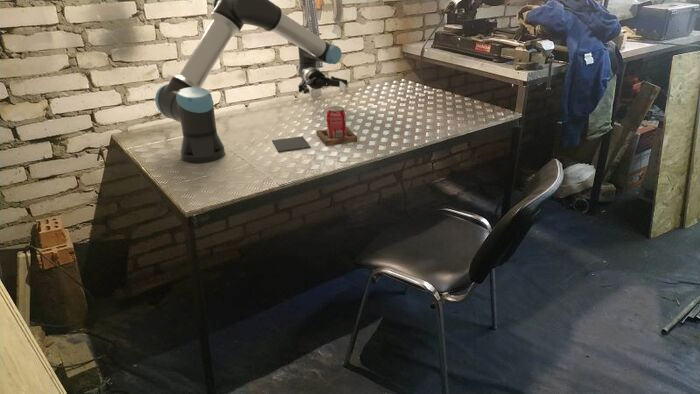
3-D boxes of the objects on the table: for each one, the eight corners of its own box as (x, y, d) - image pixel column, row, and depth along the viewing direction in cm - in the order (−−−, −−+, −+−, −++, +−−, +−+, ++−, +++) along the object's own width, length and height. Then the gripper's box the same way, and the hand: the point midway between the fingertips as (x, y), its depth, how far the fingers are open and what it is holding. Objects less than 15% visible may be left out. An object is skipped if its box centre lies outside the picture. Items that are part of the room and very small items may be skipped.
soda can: (337, 134, 203) (336, 104, 198) (349, 138, 199) (349, 108, 193) (323, 138, 199) (322, 108, 194) (336, 143, 194) (335, 112, 189)
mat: (278, 152, 187) (278, 151, 187) (272, 141, 197) (272, 140, 197) (310, 147, 190) (310, 146, 190) (302, 137, 201) (302, 136, 200)
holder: (325, 146, 192) (325, 141, 191) (316, 135, 202) (316, 130, 202) (357, 141, 195) (357, 136, 194) (346, 131, 206) (346, 126, 205)
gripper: (342, 83, 223) (359, 96, 205) (286, 90, 216) (298, 104, 198) (342, 66, 220) (358, 77, 202) (284, 72, 213) (296, 84, 195)
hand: (328, 90), depth 200 cm, fingers open, 13 cm apart
